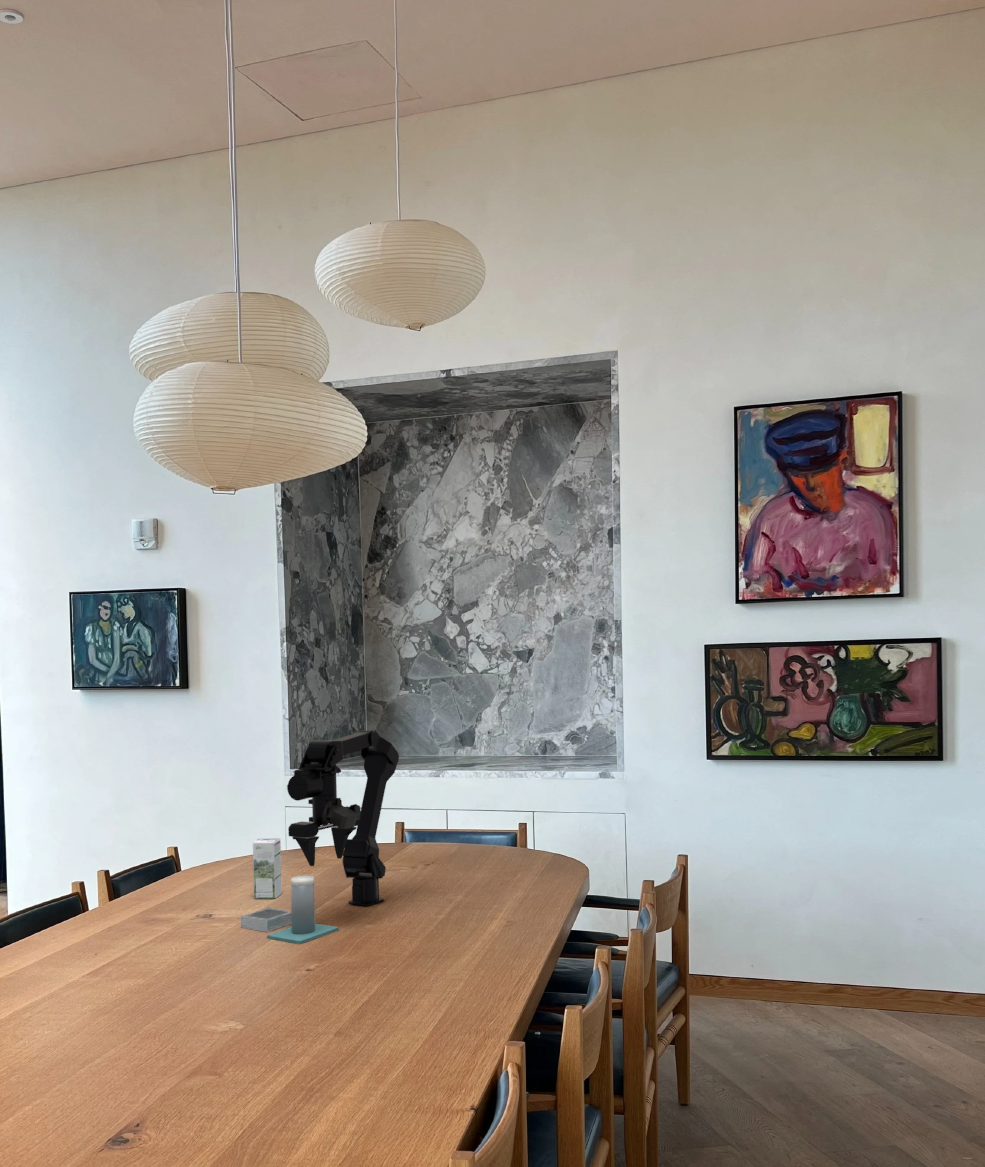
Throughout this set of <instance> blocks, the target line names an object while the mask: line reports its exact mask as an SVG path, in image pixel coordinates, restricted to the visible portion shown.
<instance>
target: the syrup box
mask: <svg viewBox="0 0 985 1167" xmlns="http://www.w3.org/2000/svg"><path fill="white" fill-rule="evenodd" d="M281 848H282V846H281V838H280V837H278V838H277V837H275V838H273V837H269V838H263V837H262V838H258V839H255V840H254V841H253V842H252V855H253V856H252V857H253V859H252V862H253V867H252V868H253V898H254V899H255V900H257V899H259V900H263V899H264V900H265V899H268V900H269V899H277V898H278V897H280V896H281V895H282V893H283V891H282V890H283V888H282V886H283V885H282V861H281V860H282V857H281V856H282V850H281Z"/></svg>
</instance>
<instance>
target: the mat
mask: <svg viewBox="0 0 985 1167" xmlns="http://www.w3.org/2000/svg"><path fill="white" fill-rule="evenodd" d="M339 930H340V927H338V926H332V925H325V924H320V923H315V931H314V932H312V933H308V934H293V933H292V926H291V927H288V928H287V927H286V928H285V929H282V930H279V931H275V932H273V933H271V934H268V935H266V939H270V940H273V941H274V940H275V941H280V942H286V943H291V944H292V943H293V944H299V945H302V944H304V943H307V942H310V941H313V940H316V939H318V938H321V937H323V936H326V935H329V934H331V933H335V932H338V931H339Z"/></svg>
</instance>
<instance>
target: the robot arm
mask: <svg viewBox="0 0 985 1167" xmlns="http://www.w3.org/2000/svg"><path fill="white" fill-rule="evenodd" d="M358 751H359V752H358ZM355 752H358V753H359V754H358V755H359V756H360V757H361V759H362V760H363V769H364V772H365V775H366V778H367V779H366V782H365V788H364V792H363V797H362V803H361V805H358V804H357V803H354V804H351V805H349V806H348V805H347V806H344V805H343V804H342V798H341V797H338V796H337V795H338V794H337V793H338V791H337V774H340V773H342V769H341V768H340V767H339V766H337V764H338V763H340V762H342V761H343V760H344V757H345V756H347V755H349V754H352V753H355ZM399 760H400V755H399V752H398V750H397V749H396V748H395V746H394V745H393V744H392V743H391V742H390V741H388V740H386V739H385V738H384V737H382V736H380V734H379V733H378V732H377V731H375V730H358V731H357V732H355V733H354V732H353V733H352V734H349V735H345V736H342V737H339V738H336V739H333V740H330V739H329V740H325V739H324V740H312V741H310V742H309V743H308V746H307V747H306V750H305V752H304V755H303V757H302V759H301V762H300V764H299V767H298V769H294V771H293V773H294V775H292V776H291V777H290V778H289V780H288V784H287V785H286V791H287V793H288V795H289V797H290V798H291V799H293V800H294V801H296V802H297V801H303V800H307V799H308V805H311V806H312V808H311V809H312V810H311V811H312V816H310V817H308V821H298V822H293V823H291V824H290V825H289V826H288V837H292V840H295V842H297V844H298V845H299V846H298V847H300V849H301V851H302V853H303V855H304V857H305V858H306V861H307V863H308V865H309V866H310V867H314V866H315V863H316V843H317V841H318V840H319V838H320V836H317V835H318V833H319V831H322V830H325V829H329V828H331V829H330V830H331V836H332V840H333V845H334V846H333V847H334V850H335V854H336V855H335V856H336V858H337V859H341V860H342V865H343V869H344V874H345V877H346V878H347V879H349V878H352V879H351V880H352V885H351V895H352V896H351V897H352V898H351V900H349V901H348V904H349V905H356V906H363V907H364V906H365V907H369V906H373V905H375V904H378V903H380V902H383V901H385V898H382V897H380V883H379V879H383V877H385V876H386V869H387V868H386V866H385V864H384V863H383V862H382V860H381V858H380V857H379V856H380V848H379V845H378V842H377V840H376V837H377V832H378V827H379V822H380V817H381V812H382V807H383V806H382V805H383V803H384V802H383V801H384V797H385V792H386V786H387V782H388V781H389V780H390V779H391V777H392V776H393V775H394V774H395V772H396V769H397V766H398V762H399ZM355 830H356V832H355V834H354V836H353V837H352V838H351V839H349V837H350V835H351V833H353V832H354V831H355Z"/></svg>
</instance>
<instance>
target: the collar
mask: <svg viewBox="0 0 985 1167" xmlns="http://www.w3.org/2000/svg"><path fill="white" fill-rule="evenodd" d="M290 925H292V910H288V909H281V908H280V909H279V908H274V907H273V908H272V907H267V908H262V909H260V910H256V911H253V912H250V913H247V914H243V915H241V916H240V928H242V929H247V930H248V929H249V930H254V931H258V932H266V933H268V932H272V931H275V930H278V929H281V928H283V927H286V926H290Z"/></svg>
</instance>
